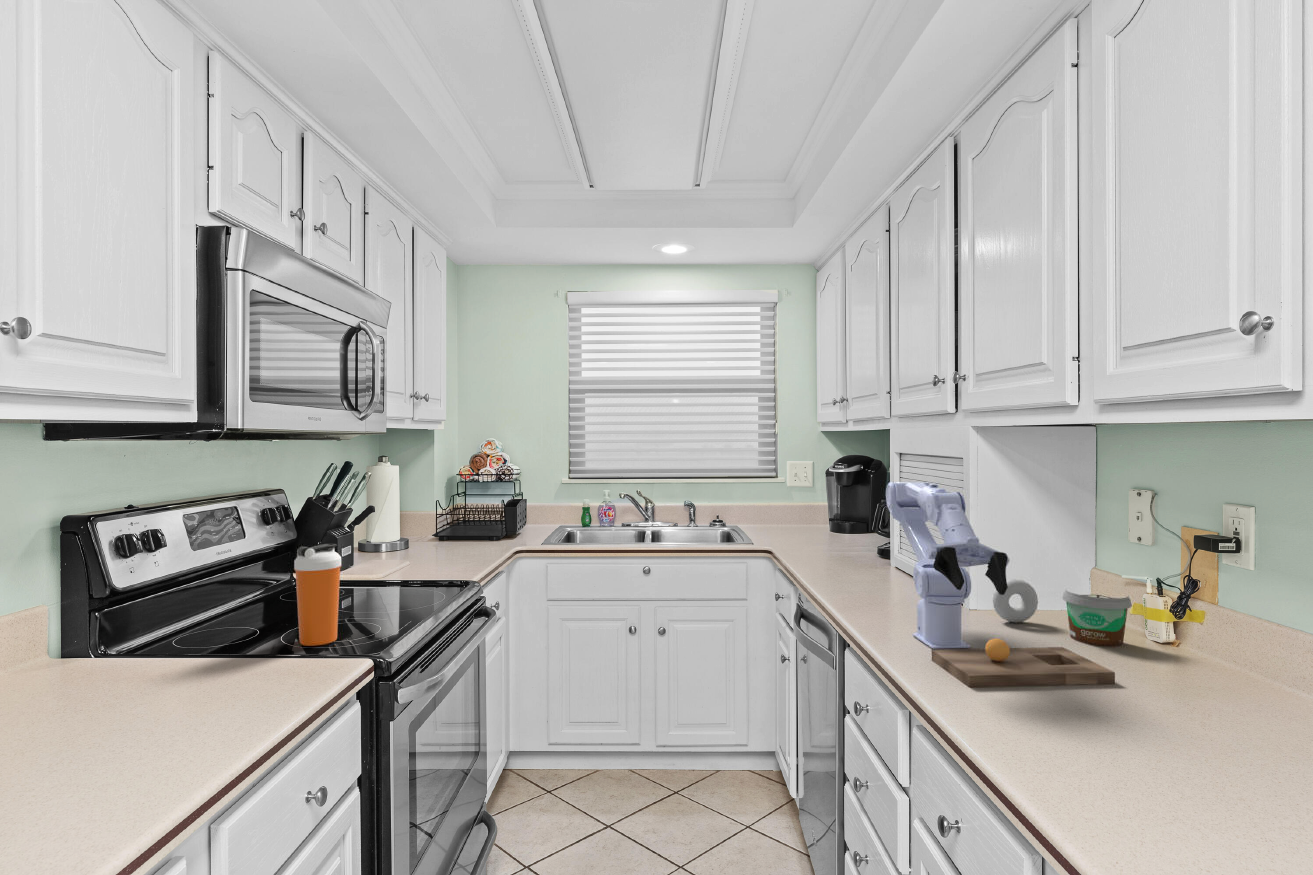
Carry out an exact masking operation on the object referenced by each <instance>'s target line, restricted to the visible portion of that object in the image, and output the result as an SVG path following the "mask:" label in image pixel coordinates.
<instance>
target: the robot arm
mask: <svg viewBox="0 0 1313 875" xmlns="http://www.w3.org/2000/svg"><path fill="white" fill-rule="evenodd" d="M885 499H886V500H885V501H886V507H887V509H888V511H889V512H890V515H891V516H892V518H893V519H895V521H898V522H899V523H900V525H901V528H902V530H903V532H904V534H905V536H906V538H907V540H908V542H909V544H910V546H911V549H912V551H913V552H914V555H915V556H916V559H917V562H916V563H915V566H914V568H913V575H912V576H913V577H912V578H913V581H914V588H915V591H916V593H917V594H916V595H918V596H919V597H920V598H921V599H919V601H918V603H917V606H916V621H917V622H916V632H914V633H912V636H913V637H914V638H916V639H918V640H919V641H921V642H922V643H923V644H925V645H926V646H928V647H929V648H931V649H932V650H942V649H971V645H970V644H968V643H967V642H965V641H963V640H962V604H964V603H965V600H967V599H968V598H969V596H970V595H971V593H972V578H971V575H970V574H969V571H967V569H966V568H968V567H977V566H984V565H987V569H986V572H985V574H984V576H986V577H987V578H988V579H989V580H990V581H991V583H992V584H993V586H994V588H995V590H997V592H998V593H999V594H1000V595H1004V594H1005V592H1006V590H1007V588H1008V586H1007V567H1008V565H1009V563H1010V558H1009V556H1008V555H1007V553H1006V552H1003V551H998V550H996V549H993V548H991V547H989V546H987V545H985V544H982V543H981V542H980V539H979V537H977V535H976V534H975V532H974V529H973V527H972V525H971V523H970V521H969V519H968V517H967V515H966V500H965V497H964V495H963V494H962V493H961V492H960V491H956V492H948V491H946V489H945V488H944V487H943V488H940V487H939V485H938V484H937V483H930V482H928V481H925V482H893V481H890V482H888V484H887V485H886V489H885ZM928 521H929V522H932V524H933V526H934V527H937V528H938V531H939V532H940V533H939V534H940V536H941V538H942V540H943V542H944V543H939V544H938V543H937V542H936V540H935V538H934V537H933V535H932V533H931V531H930V530H929V528H928V525H927V524H926V522H928Z"/></svg>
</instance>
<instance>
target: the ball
mask: <svg viewBox="0 0 1313 875" xmlns="http://www.w3.org/2000/svg"><path fill="white" fill-rule="evenodd" d="M984 647H985V648H984V649H985V650H986V653H987V655H988V657H989V658H991V659H992V660H994V661H1004V660H1006V659H1007V658H1008V657H1009V654H1010V649H1009V648H1010V647H1009V645H1008V643H1007V642H1005V641H1004V640H1002V639H1000V638H991V639H989V640H988V641H987V643H986V644H985V646H984Z"/></svg>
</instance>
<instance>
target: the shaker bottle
mask: <svg viewBox="0 0 1313 875" xmlns="http://www.w3.org/2000/svg"><path fill="white" fill-rule="evenodd" d="M337 546H338V545H337V543H324V544H319V545H318V544H317V545H313V546H310V547H308V546H300V547H299V548H298V549H297V551H296V553H297V554H296V558H295V559H294V560H293V562H294V564H293V565H294V566H293V567H294V568H293V569H294V571H295V584H296V600H297V601H296V602H297V603H296V604H297V618H298V620H297V621H298V635H299V636H298V638H299V639H298V640H299V644H300V645H302V646H307V647H310V646H311V647H312V646H313V647H314V646H323V645H328V644H330V643H333V642H335V641H337V639H338V626H339V625H338V623H339V622H338V621H339V604H340V602H339V600H340V581H341V580H340V579H341V567H342V557H341V555H340V554H339V553H338V552H336V551H335V548H336V547H337Z"/></svg>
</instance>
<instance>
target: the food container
mask: <svg viewBox="0 0 1313 875" xmlns="http://www.w3.org/2000/svg"><path fill="white" fill-rule="evenodd" d="M1061 597H1062V600H1063V601H1065V603H1066V612H1067V618H1068V620H1067V621H1068V628H1069V636H1070V638H1071V639H1072V640H1074V641H1075V642H1079V643H1082V644H1085V645H1089V644H1090V646H1096V647H1097V646H1098V647H1106V648H1108V647H1109V648H1113V647H1116V648H1117V647H1120V646H1122V645H1123V644H1124V640H1125V632H1126V625H1127V624H1126V623H1127V616H1128V610H1129V609H1130V608H1131V607H1132V601H1131V598H1130V596H1129V594H1128V595H1127V596H1125V597H1119V598H1118V597H1109V596H1104V595H1101V594H1077V593H1074V592H1071V591H1068V590H1067V589H1064V591H1063V594H1062V596H1061Z"/></svg>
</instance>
